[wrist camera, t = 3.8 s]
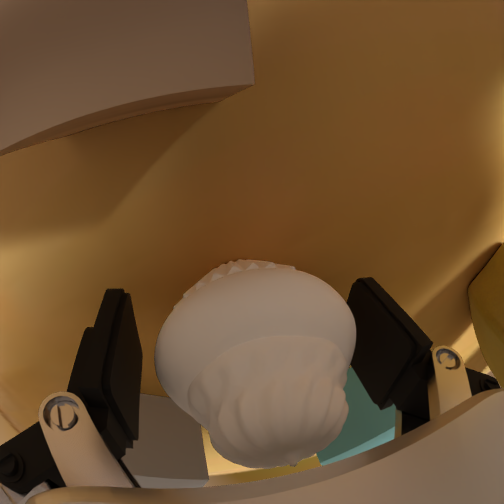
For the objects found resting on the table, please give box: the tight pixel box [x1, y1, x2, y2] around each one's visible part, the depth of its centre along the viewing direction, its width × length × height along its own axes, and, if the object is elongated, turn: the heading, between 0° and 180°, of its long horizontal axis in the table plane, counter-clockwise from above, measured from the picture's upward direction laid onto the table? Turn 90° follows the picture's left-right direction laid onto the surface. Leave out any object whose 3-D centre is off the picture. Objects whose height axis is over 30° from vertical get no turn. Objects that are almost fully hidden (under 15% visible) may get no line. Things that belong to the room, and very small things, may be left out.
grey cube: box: [122, 393, 209, 489], centre depth 12 cm, size 5×5×5 cm
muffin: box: [154, 259, 356, 469], centre depth 8 cm, size 6×6×7 cm
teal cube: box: [316, 367, 396, 466], centre depth 14 cm, size 5×5×5 cm
